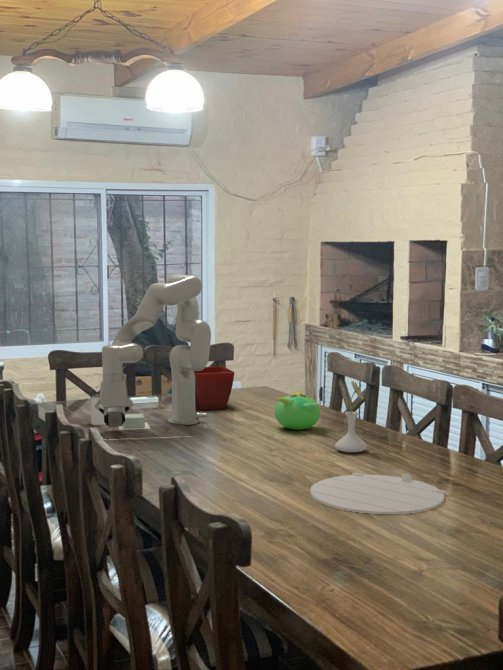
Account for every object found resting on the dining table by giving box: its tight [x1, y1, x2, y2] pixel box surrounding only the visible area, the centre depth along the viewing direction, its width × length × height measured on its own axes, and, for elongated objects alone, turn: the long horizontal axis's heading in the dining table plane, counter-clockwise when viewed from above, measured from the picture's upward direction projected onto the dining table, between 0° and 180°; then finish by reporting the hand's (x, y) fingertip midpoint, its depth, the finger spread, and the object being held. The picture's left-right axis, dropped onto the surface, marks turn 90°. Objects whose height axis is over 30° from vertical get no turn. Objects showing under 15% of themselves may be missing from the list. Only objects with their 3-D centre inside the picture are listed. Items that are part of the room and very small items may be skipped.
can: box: [90, 394, 109, 426], centre depth 360 cm, size 6×6×12 cm
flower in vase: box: [334, 380, 368, 453], centre depth 322 cm, size 13×11×25 cm
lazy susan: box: [309, 472, 449, 515], centre depth 268 cm, size 40×39×3 cm
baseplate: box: [118, 421, 152, 431], centre depth 357 cm, size 12×12×1 cm
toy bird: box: [274, 390, 321, 431], centre depth 357 cm, size 18×17×15 cm
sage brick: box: [123, 413, 146, 428], centre depth 356 cm, size 8×8×4 cm
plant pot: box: [194, 366, 235, 411], centre depth 401 cm, size 19×19×17 cm
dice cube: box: [107, 410, 122, 428], centre depth 345 cm, size 5×5×5 cm
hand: (114, 423), depth 345 cm, fingers closed on dice cube, 5 cm apart
